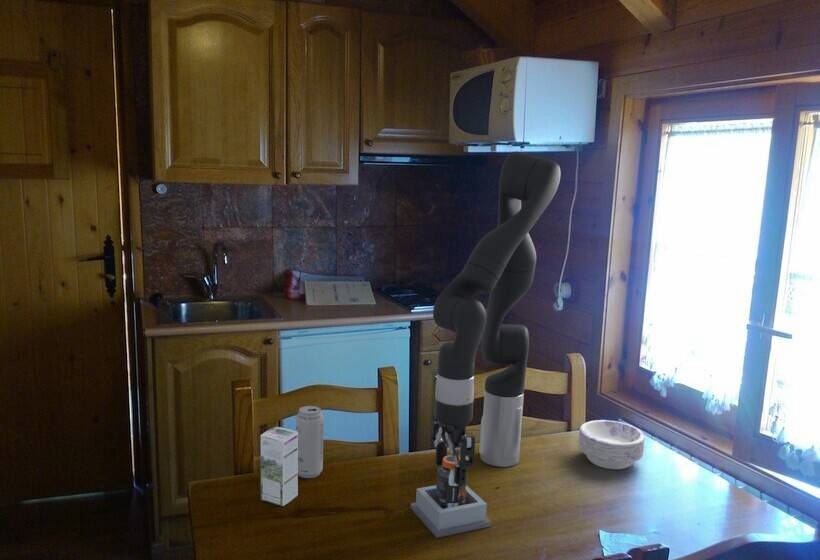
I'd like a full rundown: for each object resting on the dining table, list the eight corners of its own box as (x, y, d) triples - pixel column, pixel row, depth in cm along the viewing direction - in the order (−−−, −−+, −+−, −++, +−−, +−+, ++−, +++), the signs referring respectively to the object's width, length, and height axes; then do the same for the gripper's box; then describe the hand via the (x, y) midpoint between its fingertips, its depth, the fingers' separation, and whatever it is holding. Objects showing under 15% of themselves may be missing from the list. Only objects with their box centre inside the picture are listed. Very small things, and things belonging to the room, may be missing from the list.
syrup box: (298, 495, 145) (299, 430, 142) (282, 507, 139) (283, 440, 137) (276, 489, 147) (276, 424, 144) (259, 501, 142) (259, 434, 139)
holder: (410, 507, 141) (411, 487, 141) (461, 498, 146) (463, 478, 146) (436, 537, 131) (437, 515, 130) (491, 526, 136) (492, 505, 135)
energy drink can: (293, 468, 157) (294, 405, 154) (320, 466, 159) (321, 404, 156) (297, 480, 151) (298, 415, 149) (324, 478, 153) (325, 413, 150)
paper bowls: (567, 463, 166) (570, 432, 165) (590, 443, 178) (592, 414, 177) (630, 482, 157) (634, 449, 156) (649, 460, 170) (653, 429, 168)
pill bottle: (462, 521, 135) (465, 467, 133) (432, 516, 136) (435, 463, 134) (466, 506, 141) (469, 454, 139) (437, 502, 142) (440, 450, 140)
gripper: (489, 407, 129) (484, 487, 132) (455, 382, 142) (450, 456, 145) (454, 411, 126) (449, 493, 130) (421, 386, 139) (418, 461, 142)
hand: (449, 473), depth 137 cm, fingers open, 8 cm apart
